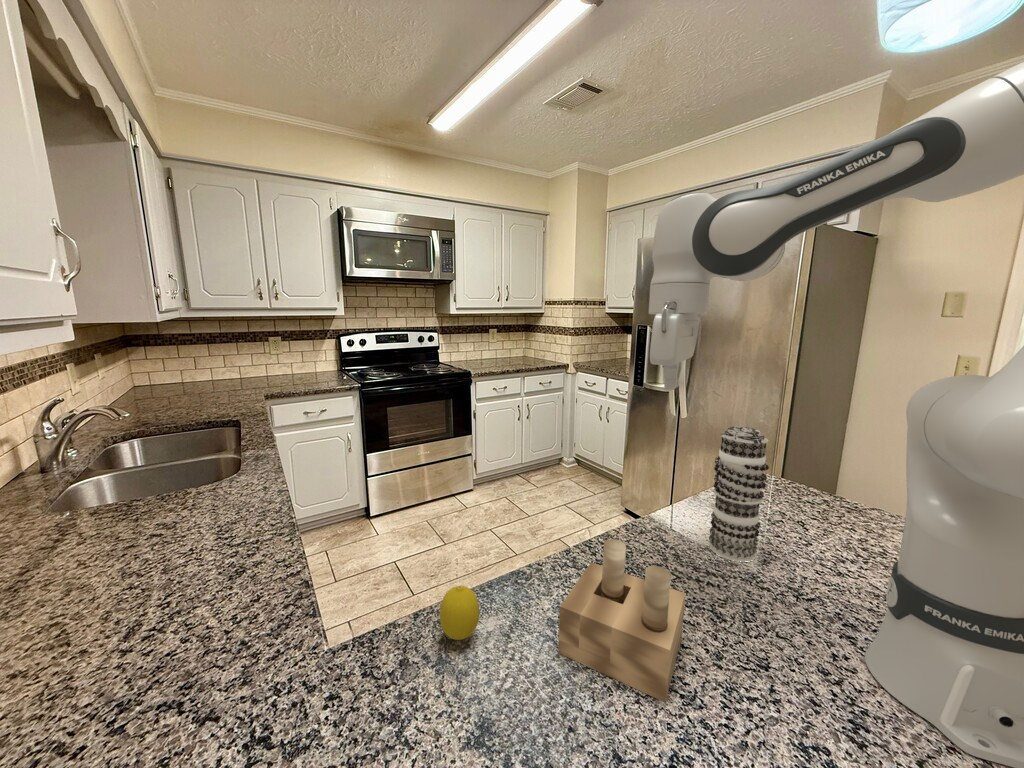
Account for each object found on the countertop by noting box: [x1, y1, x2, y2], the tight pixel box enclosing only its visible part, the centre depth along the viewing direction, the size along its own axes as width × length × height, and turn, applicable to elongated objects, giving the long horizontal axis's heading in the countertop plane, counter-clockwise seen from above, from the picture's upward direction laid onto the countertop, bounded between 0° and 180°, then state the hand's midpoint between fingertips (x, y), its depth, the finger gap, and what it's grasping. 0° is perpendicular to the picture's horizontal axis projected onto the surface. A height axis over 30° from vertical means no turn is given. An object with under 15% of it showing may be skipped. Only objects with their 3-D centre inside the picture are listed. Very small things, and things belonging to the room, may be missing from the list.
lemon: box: [439, 585, 480, 641], centre depth 57 cm, size 6×6×8 cm
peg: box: [601, 538, 627, 604], centre depth 58 cm, size 3×3×12 cm
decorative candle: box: [708, 426, 770, 563], centre depth 80 cm, size 9×9×25 cm
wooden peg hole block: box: [557, 562, 686, 703], centre depth 56 cm, size 14×12×14 cm
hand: (671, 388), depth 68 cm, fingers closed
